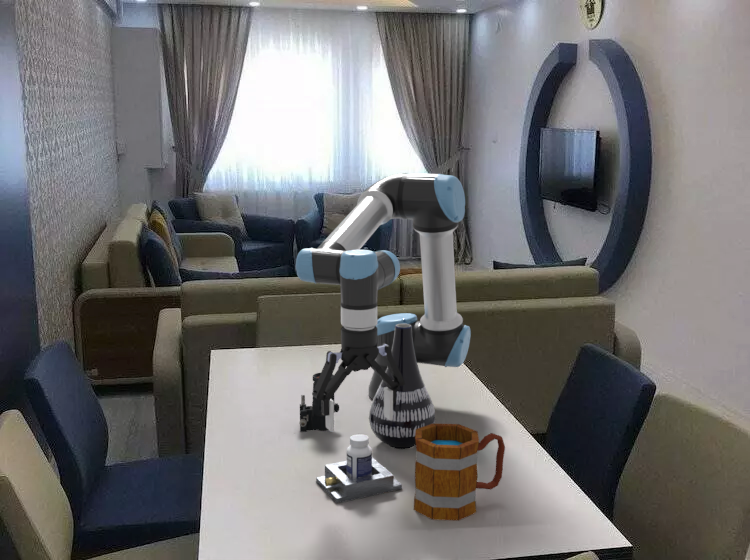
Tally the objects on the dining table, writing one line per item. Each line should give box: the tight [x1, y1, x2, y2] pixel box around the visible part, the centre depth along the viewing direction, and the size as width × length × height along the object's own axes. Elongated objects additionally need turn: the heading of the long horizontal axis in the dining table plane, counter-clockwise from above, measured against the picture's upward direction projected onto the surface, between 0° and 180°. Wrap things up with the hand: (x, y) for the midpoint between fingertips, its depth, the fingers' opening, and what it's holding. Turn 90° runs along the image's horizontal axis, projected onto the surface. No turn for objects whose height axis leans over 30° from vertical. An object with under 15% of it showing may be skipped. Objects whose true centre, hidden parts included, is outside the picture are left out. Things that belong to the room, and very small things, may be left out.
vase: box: [368, 324, 436, 450], centre depth 189 cm, size 16×16×30 cm
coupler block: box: [315, 457, 403, 504], centre depth 169 cm, size 15×11×4 cm
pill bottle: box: [346, 433, 373, 479], centre depth 169 cm, size 5×5×10 cm
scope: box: [299, 372, 340, 433], centre depth 200 cm, size 8×14×10 cm
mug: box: [413, 422, 506, 522], centre depth 161 cm, size 20×14×15 cm
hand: (359, 423), depth 167 cm, fingers open, 13 cm apart
